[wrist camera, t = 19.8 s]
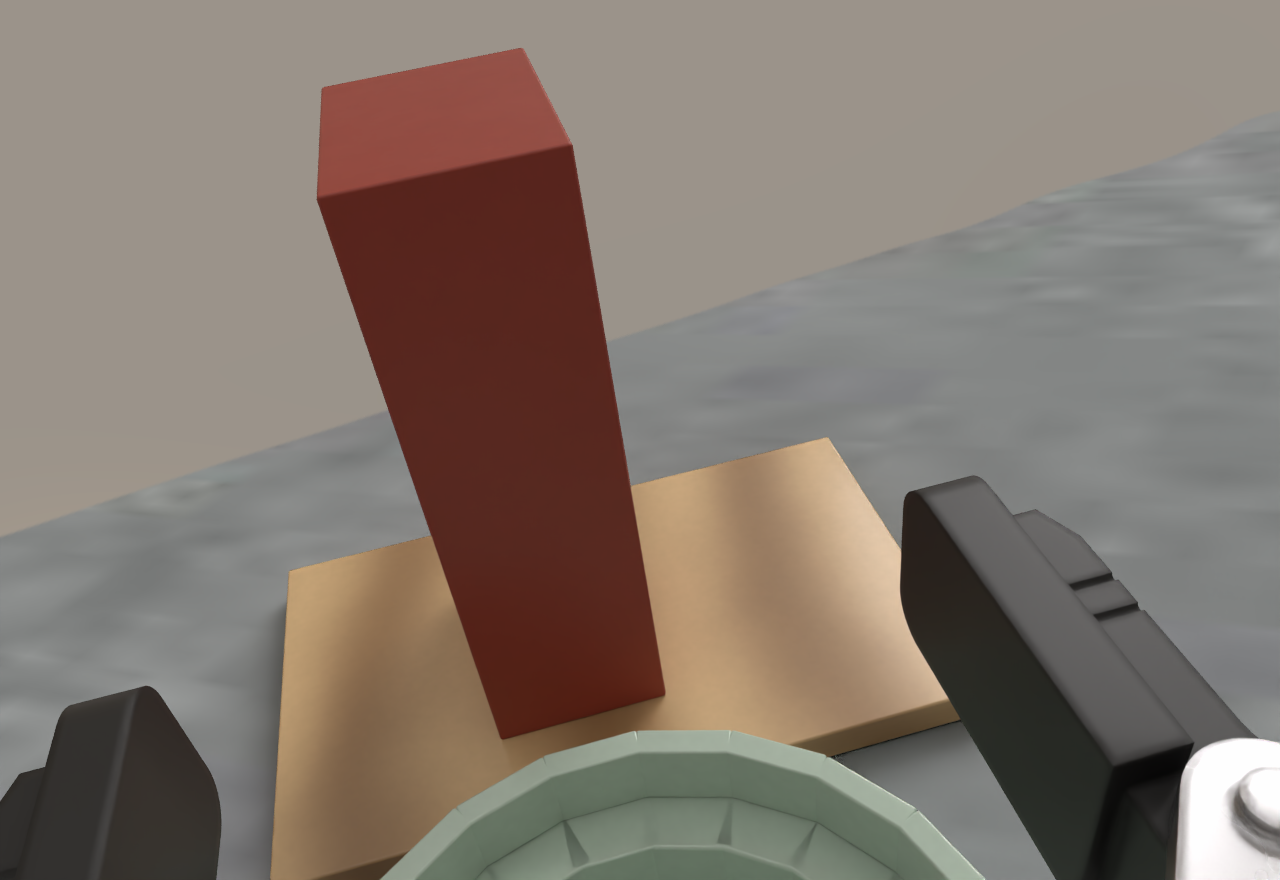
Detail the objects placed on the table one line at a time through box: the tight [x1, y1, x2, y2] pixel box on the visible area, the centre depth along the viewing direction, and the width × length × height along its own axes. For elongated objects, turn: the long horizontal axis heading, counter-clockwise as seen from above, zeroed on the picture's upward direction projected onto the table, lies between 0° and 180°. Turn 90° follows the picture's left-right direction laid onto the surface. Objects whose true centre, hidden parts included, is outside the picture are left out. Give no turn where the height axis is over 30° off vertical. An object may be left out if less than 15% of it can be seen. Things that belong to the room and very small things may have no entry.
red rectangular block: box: [317, 48, 666, 739], centre depth 24 cm, size 4×6×15 cm
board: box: [270, 437, 961, 880], centre depth 29 cm, size 18×11×1 cm, turn 103°
